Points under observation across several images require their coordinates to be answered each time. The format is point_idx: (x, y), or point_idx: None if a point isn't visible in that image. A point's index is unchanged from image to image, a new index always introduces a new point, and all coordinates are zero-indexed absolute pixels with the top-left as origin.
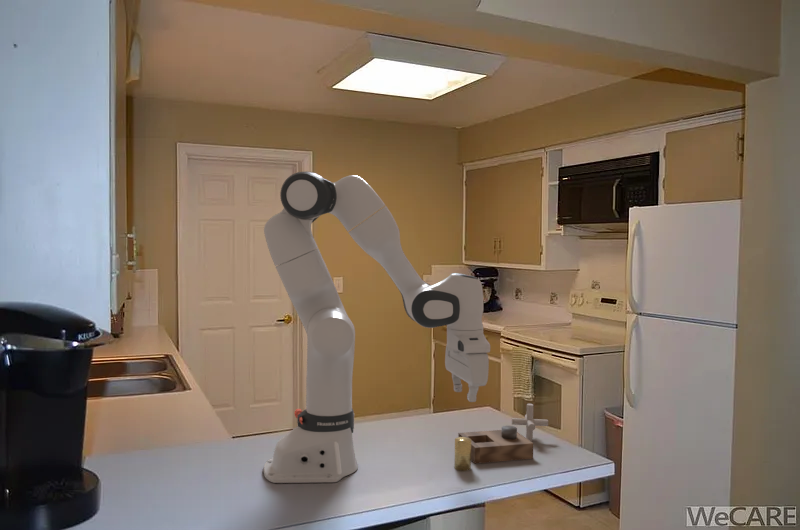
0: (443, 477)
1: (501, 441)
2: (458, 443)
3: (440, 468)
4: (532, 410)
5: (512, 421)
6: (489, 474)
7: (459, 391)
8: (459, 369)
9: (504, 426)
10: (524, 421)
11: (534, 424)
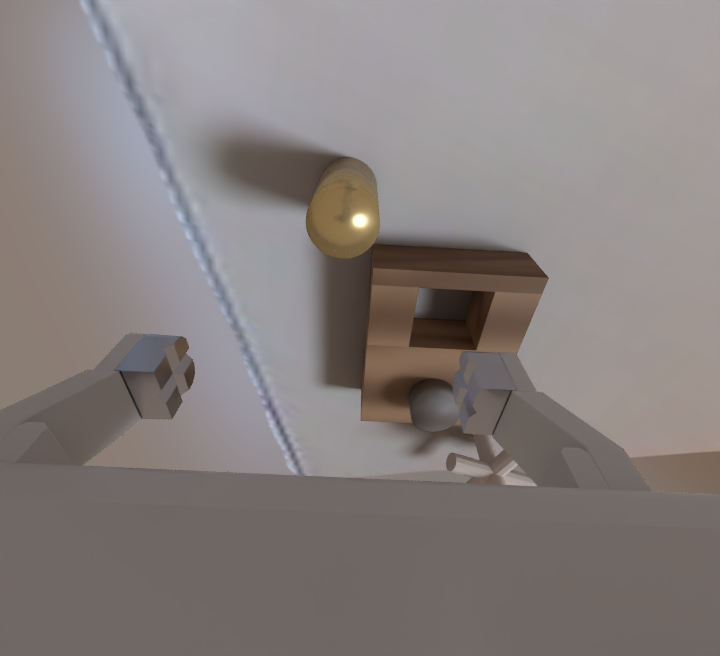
0: (272, 68)
1: (402, 363)
2: (322, 190)
3: (365, 97)
4: None
5: None
6: (278, 248)
7: (457, 374)
8: (157, 639)
9: (454, 411)
10: (496, 465)
11: (455, 472)
